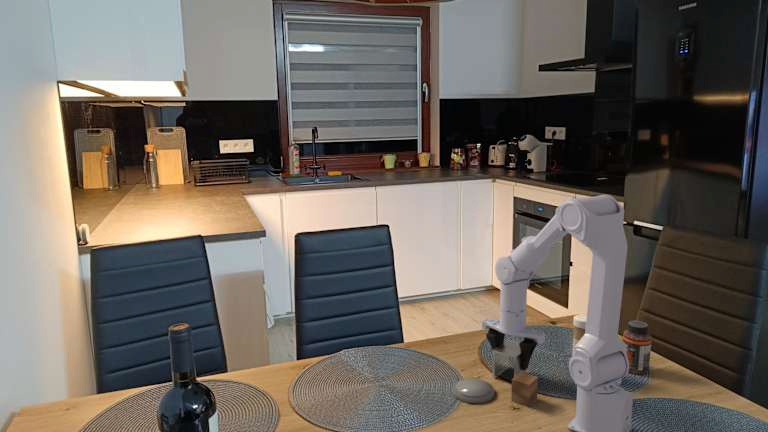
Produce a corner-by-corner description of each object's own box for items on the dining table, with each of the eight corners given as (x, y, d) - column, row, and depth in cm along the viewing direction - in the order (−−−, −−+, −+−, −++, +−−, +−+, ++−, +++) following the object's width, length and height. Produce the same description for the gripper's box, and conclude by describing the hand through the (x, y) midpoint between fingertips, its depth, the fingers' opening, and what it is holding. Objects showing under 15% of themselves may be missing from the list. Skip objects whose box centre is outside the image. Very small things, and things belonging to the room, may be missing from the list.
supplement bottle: (614, 366, 126) (617, 321, 124) (633, 361, 128) (636, 316, 126) (636, 377, 121) (639, 330, 119) (654, 372, 123) (658, 325, 121)
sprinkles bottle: (596, 373, 123) (599, 318, 120) (583, 379, 120) (586, 322, 118) (579, 366, 127) (582, 312, 124) (566, 371, 124) (569, 316, 122)
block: (537, 398, 113) (537, 376, 112) (528, 407, 110) (529, 384, 109) (520, 393, 115) (521, 371, 114) (511, 401, 112) (511, 379, 111)
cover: (529, 371, 124) (530, 345, 122) (516, 384, 118) (516, 356, 117) (506, 364, 127) (507, 339, 126) (492, 376, 122) (492, 349, 121)
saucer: (501, 390, 116) (501, 385, 116) (480, 408, 110) (480, 402, 109) (465, 378, 122) (465, 373, 122) (443, 394, 115) (443, 389, 115)
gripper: (551, 310, 118) (549, 367, 121) (492, 296, 128) (492, 350, 130) (538, 319, 113) (536, 379, 116) (477, 305, 122) (477, 360, 125)
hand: (511, 365), depth 122 cm, fingers closed on cover, 6 cm apart
